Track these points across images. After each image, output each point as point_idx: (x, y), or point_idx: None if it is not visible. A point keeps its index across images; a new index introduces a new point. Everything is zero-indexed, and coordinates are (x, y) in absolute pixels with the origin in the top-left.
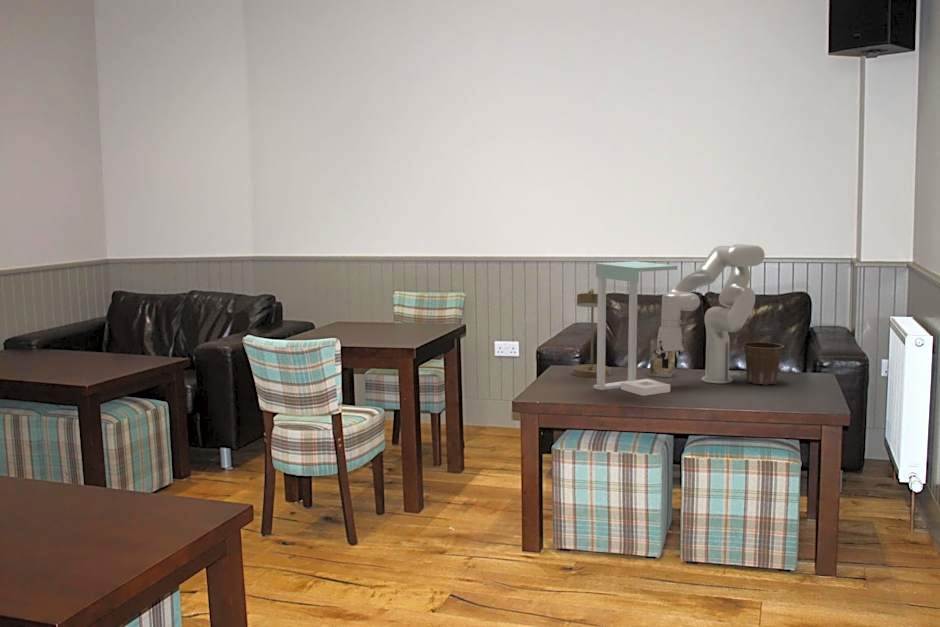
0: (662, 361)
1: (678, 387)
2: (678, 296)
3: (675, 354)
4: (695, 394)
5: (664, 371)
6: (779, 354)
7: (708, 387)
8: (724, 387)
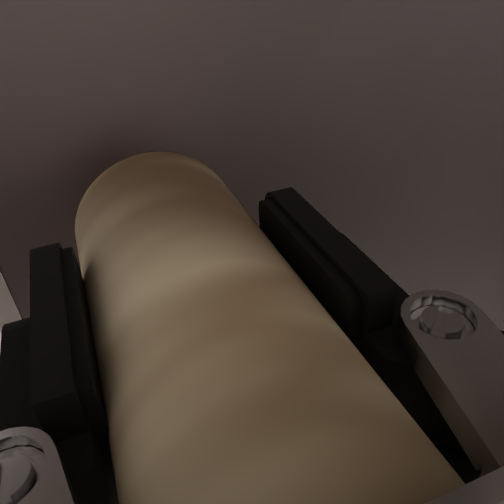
0: (4, 402)
1: (220, 170)
2: None
3: None
4: None
5: (82, 213)
6: None
7: (419, 239)
8: (489, 263)
